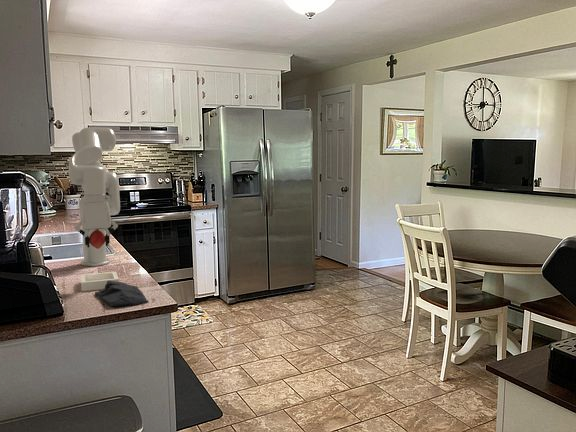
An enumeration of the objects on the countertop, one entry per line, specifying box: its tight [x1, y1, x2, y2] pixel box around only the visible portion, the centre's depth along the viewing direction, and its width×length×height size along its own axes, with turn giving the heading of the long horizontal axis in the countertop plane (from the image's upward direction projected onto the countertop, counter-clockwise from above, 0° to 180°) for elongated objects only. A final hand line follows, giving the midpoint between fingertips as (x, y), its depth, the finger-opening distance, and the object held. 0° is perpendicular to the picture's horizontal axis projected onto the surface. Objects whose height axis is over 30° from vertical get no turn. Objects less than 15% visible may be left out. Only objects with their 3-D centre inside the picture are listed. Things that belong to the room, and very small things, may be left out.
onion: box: [89, 229, 106, 249], centre depth 177 cm, size 6×6×8 cm
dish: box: [80, 270, 120, 292], centre depth 179 cm, size 13×13×3 cm
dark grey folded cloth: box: [94, 281, 149, 307], centre depth 162 cm, size 15×22×5 cm
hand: (97, 245), depth 177 cm, fingers closed on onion, 5 cm apart
